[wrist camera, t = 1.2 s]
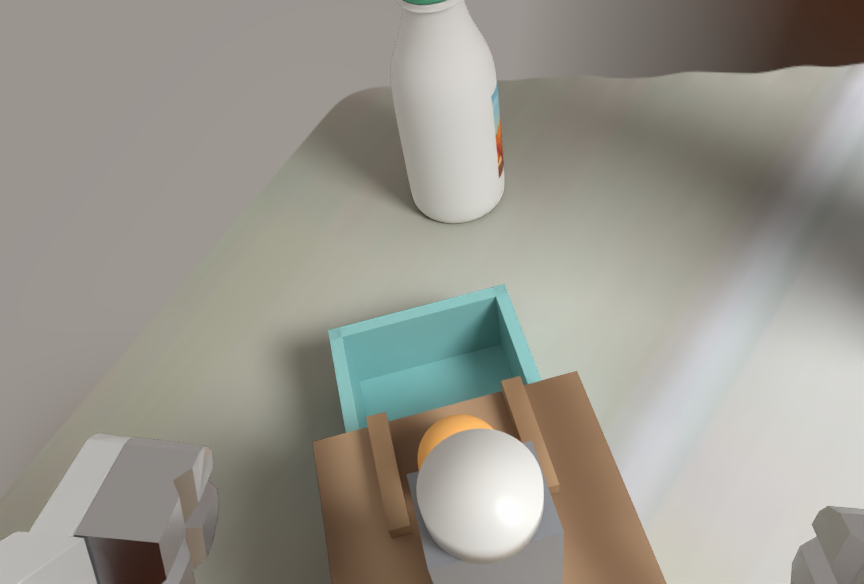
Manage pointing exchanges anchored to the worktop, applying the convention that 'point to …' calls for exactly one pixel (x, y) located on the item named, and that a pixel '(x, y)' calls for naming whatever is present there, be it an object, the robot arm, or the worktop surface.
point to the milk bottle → (447, 111)
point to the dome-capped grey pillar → (487, 512)
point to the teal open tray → (429, 356)
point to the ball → (447, 432)
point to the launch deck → (504, 411)
